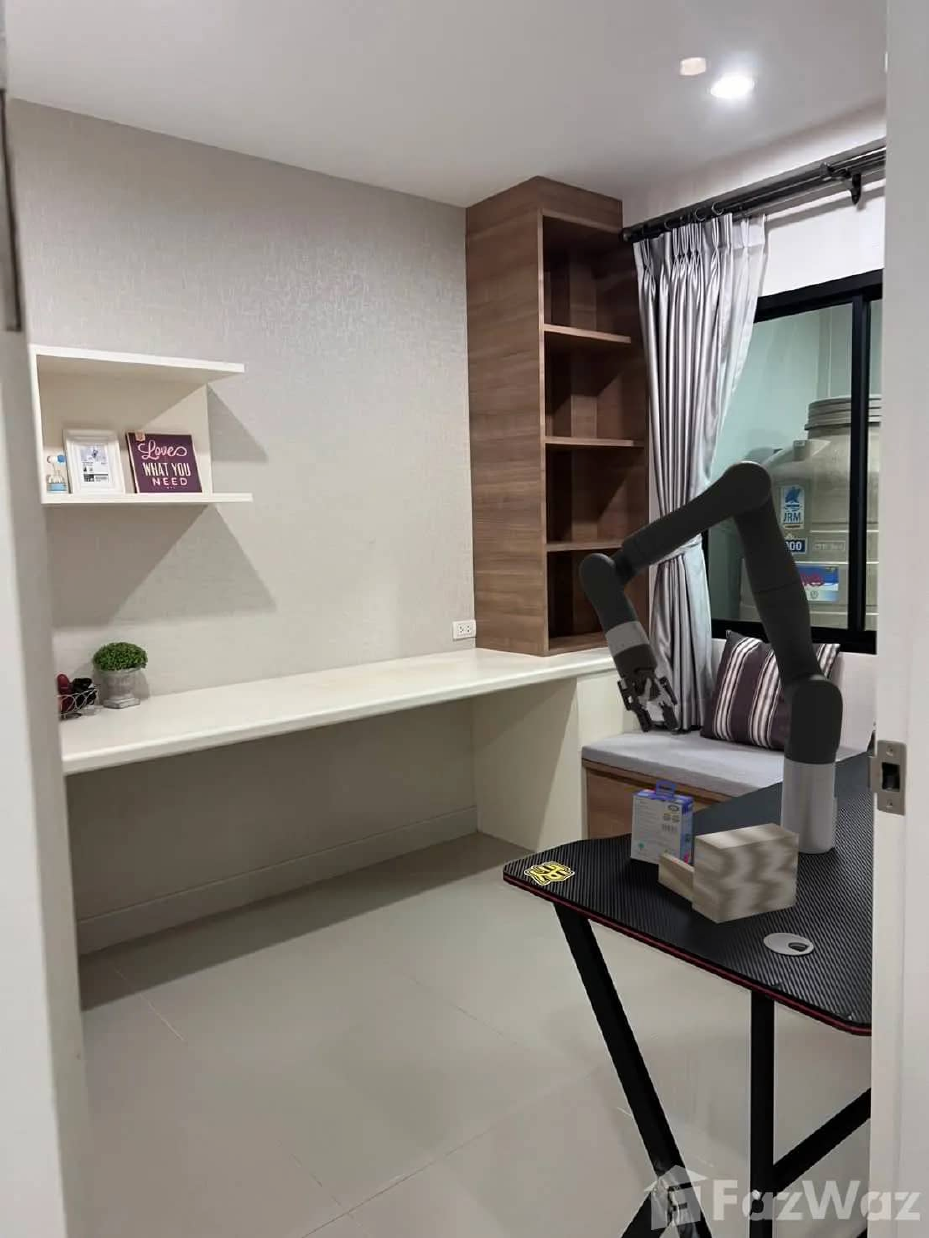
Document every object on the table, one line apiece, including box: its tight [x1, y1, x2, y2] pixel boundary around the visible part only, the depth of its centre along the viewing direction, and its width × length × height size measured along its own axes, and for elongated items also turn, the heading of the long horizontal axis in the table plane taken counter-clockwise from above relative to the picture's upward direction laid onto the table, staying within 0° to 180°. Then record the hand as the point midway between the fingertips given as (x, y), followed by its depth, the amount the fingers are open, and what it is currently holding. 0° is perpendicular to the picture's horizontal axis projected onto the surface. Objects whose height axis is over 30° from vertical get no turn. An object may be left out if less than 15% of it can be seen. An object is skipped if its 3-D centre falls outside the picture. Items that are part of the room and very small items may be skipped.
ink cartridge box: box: [630, 779, 694, 866], centre depth 169 cm, size 10×6×14 cm, turn 54°
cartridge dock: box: [658, 822, 799, 924], centre depth 154 cm, size 16×17×12 cm
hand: (662, 730), depth 170 cm, fingers open, 8 cm apart
